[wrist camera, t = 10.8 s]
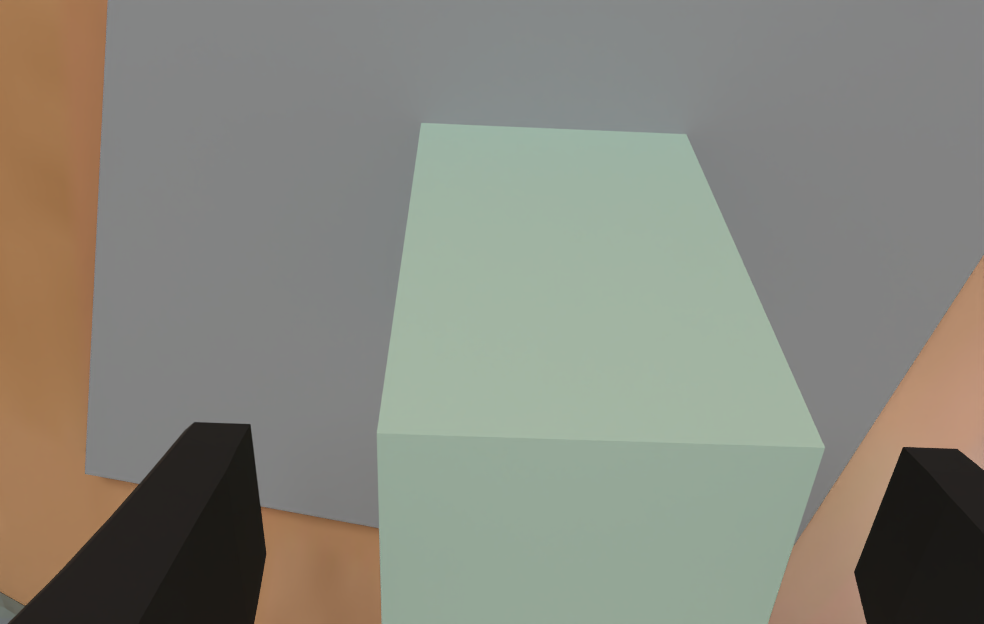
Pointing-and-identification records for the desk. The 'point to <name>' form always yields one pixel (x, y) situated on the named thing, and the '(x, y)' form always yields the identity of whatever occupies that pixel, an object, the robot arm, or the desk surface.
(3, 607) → the grey-green cup
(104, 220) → the slate mat
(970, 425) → the desk surface
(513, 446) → the sage block
